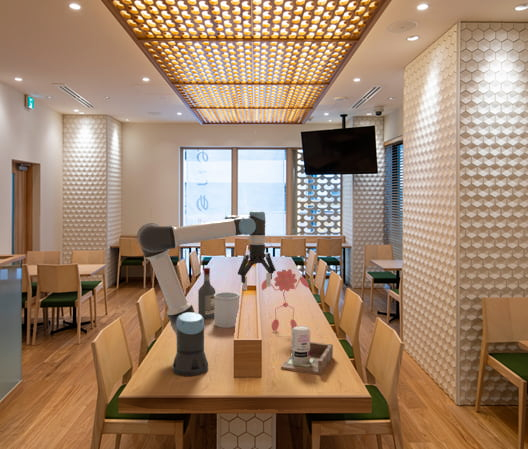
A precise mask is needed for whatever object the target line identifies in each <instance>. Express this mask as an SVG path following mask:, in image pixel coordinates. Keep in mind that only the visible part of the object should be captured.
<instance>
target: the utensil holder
mask: <svg viewBox="0 0 528 449" xmlns="http://www.w3.org/2000/svg"><path fill="white" fill-rule="evenodd" d="M240 297H241V295H240V293H239V292H234V291H222V292H219V291H218V292H215V294H214V317H213V318H214V326H215V327H218V328H222V329H223V328H225V329H228V328H234V327H236V326H235V323H236V317H237V313H238V310H239V311H240Z"/></svg>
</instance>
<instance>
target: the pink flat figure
mask: <svg viewBox="0 0 528 449" xmlns="http://www.w3.org/2000/svg"><path fill="white" fill-rule="evenodd" d="M296 276H297V275H296V273H293V271H292V269H291V268H290V269H289V268H288V269H287V270H286V269H282V270H279V271H276V276H275V278H274V281H275V283H274V284H272V283H271V287H272V288H273V290H274V291H280V292H283V293H282V296H283V301H284V302H283V303H282V305H280V306H278V307H275V308H274V313H275V317H277V312H276V310H277V309H279V308H281V307H284V308H288V307H289V308H291V309H292V311H293V312H292V319H290V322H289V323H290V326H291V328H290V329H292V330H293V327H295V326H298V325H297V322H296V320H295V319H294V317H295V316H294V315H295V308H294V307H293V306H290V305H289V304H288V303H287V302H286V297H285V292H289V291H290V290H296V289H297V288H298V285H299V283H301V284H302V286H304V287H306V288H310V285H309V281H308V280H307V279H306V278H305V277H303V276H299V278H298V279H297V278H296ZM295 284H296V285H295ZM274 286H275V287H278V288H277V289H276V288H275V287H274ZM267 288H268V286H266V279H264V280H263V281H262V283H261V290H262V291H264V290H266V289H267ZM279 324H280V322H279V320H278V319H277V318H275V319H273V321H272V322H271V329H272V331H274V332H275V331H276V330H277V329H279Z"/></svg>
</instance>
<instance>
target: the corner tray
mask: <svg viewBox="0 0 528 449" xmlns="http://www.w3.org/2000/svg"><path fill="white" fill-rule="evenodd" d="M333 349H334V346H333V344H330V343H329V344H328V343H323V342H322V343H321V342H314V341H310V361H309V362H308V363H305V364H297V363H294V362H293V361H292V359H291V355H289V357H288V358H287V359H286V360H285V361H284V362H283V364H282V365H281V366H280V369H281V370H285V369H287V370H286V371H292V370H293V372H299V371H300V372H299V373H305V372H307V373H306V374H312V373H314V374H313V375H319V374H321V375H323V374H324V373H325V371H326V369H327V367H328V366H329V364H330V363H331V361H330V360H332V359H333V354H334V352H333ZM331 358H332V359H331ZM328 363H329V364H328ZM327 365H328V366H327ZM325 368H326V369H325ZM322 373H323V374H322ZM321 375H320V376H321Z"/></svg>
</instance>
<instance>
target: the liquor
mask: <svg viewBox="0 0 528 449" xmlns="http://www.w3.org/2000/svg"><path fill="white" fill-rule="evenodd" d="M210 269H211V268H210V267H204V268H203V284H202V285H201V286H200V287H199V289H198V291H197V292H198V293H197V294H198V297H197V298H198V301H197V302H198V303H197V304H198V306H197V307H198V310H197V311H198V313H197V314H200V315H202V316H203V318H204V320H210V319H213V318H214V294H216V289H215V288H214V286H213V285H212V284H211V281H210V280H211V279H210V278H211V276H210V274H211V271H210Z"/></svg>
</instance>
